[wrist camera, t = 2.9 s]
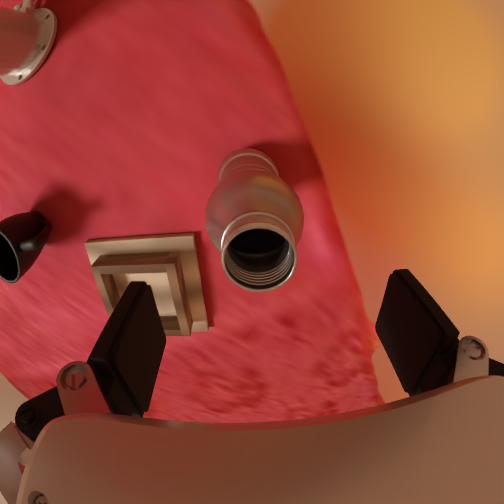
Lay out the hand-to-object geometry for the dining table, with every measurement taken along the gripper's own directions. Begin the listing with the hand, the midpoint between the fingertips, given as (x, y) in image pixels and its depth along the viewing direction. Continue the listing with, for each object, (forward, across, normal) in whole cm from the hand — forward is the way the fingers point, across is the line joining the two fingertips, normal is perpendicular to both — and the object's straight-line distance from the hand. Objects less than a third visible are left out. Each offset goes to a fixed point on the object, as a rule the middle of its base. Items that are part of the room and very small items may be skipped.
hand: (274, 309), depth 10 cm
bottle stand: (+23, +16, +14) cm, 31 cm away
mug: (+23, +32, +3) cm, 39 cm away
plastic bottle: (+23, +1, -1) cm, 23 cm away
